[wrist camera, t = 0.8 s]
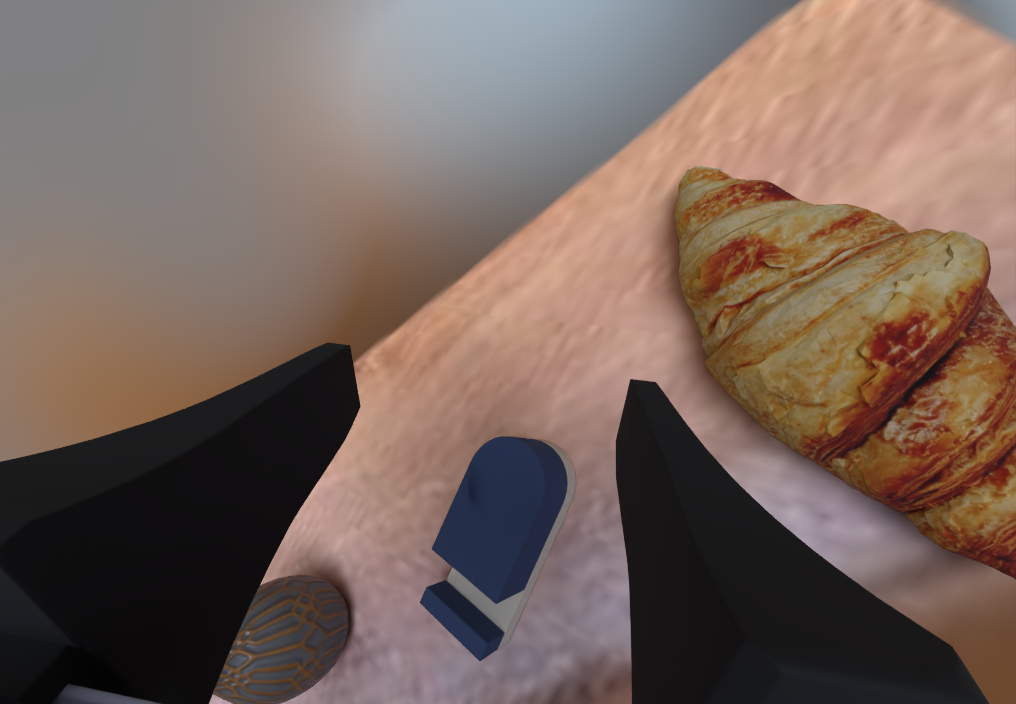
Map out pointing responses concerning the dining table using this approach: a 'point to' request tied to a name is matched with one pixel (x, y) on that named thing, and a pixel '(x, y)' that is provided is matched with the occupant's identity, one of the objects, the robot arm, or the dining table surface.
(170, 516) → the robot arm
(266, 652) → the vase
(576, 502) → the dining table surface
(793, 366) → the croissant
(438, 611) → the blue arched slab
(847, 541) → the dining table surface
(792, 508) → the dining table surface
